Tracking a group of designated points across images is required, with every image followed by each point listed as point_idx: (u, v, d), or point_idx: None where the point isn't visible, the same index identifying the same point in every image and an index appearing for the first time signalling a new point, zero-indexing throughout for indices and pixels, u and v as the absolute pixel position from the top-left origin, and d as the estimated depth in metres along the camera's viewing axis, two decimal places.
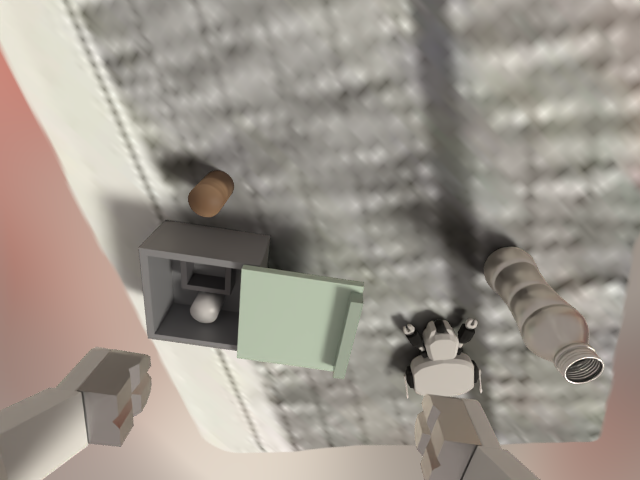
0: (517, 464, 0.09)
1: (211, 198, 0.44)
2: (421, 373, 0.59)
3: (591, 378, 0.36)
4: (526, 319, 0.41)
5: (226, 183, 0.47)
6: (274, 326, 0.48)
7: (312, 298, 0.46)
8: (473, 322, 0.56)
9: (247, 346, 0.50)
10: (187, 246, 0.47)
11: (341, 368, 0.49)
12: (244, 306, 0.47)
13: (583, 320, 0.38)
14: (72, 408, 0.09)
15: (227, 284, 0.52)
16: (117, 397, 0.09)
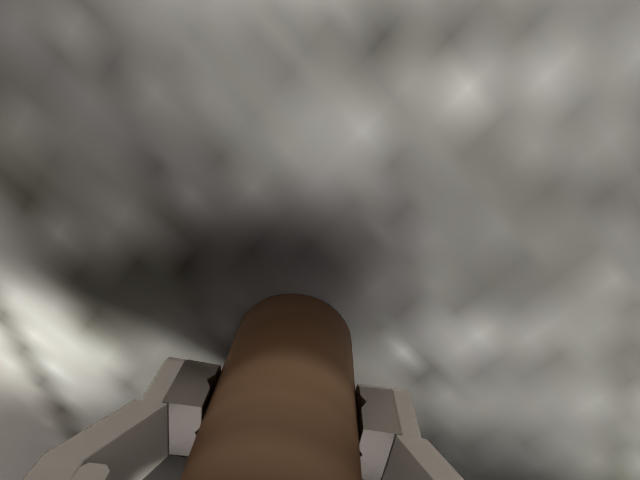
0: (433, 453, 0.09)
1: None
2: None
3: None
4: None
5: (346, 366, 0.10)
6: None
7: None
8: None
9: None
10: None
11: None
12: None
13: None
14: (159, 420, 0.09)
15: None
16: (201, 408, 0.09)
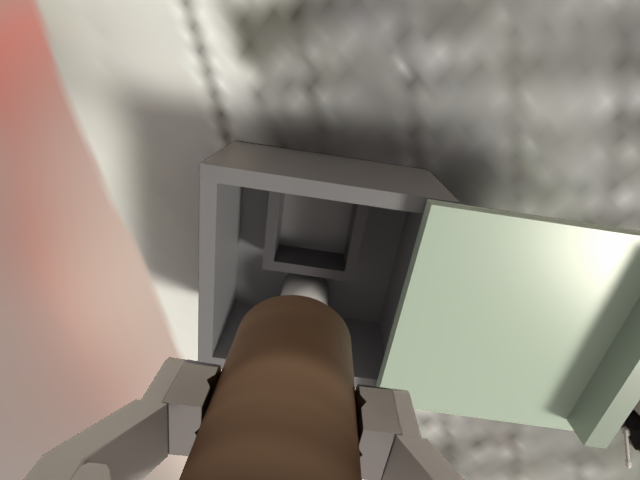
0: (433, 453, 0.09)
1: None
2: None
3: None
4: None
5: (346, 367, 0.10)
6: (469, 338, 0.23)
7: (571, 273, 0.21)
8: None
9: (402, 380, 0.25)
10: (296, 169, 0.23)
11: (610, 426, 0.23)
12: (416, 294, 0.22)
13: None
14: (159, 420, 0.09)
15: (351, 259, 0.27)
16: (201, 408, 0.09)
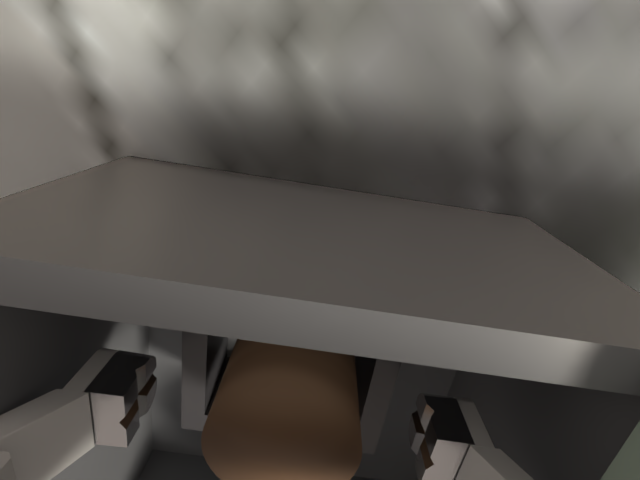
0: (510, 463, 0.09)
1: (316, 438, 0.09)
2: None
3: None
4: None
5: None
6: None
7: None
8: None
9: None
10: (230, 241, 0.08)
11: None
12: None
13: None
14: (79, 409, 0.09)
15: (372, 414, 0.13)
16: (124, 398, 0.09)
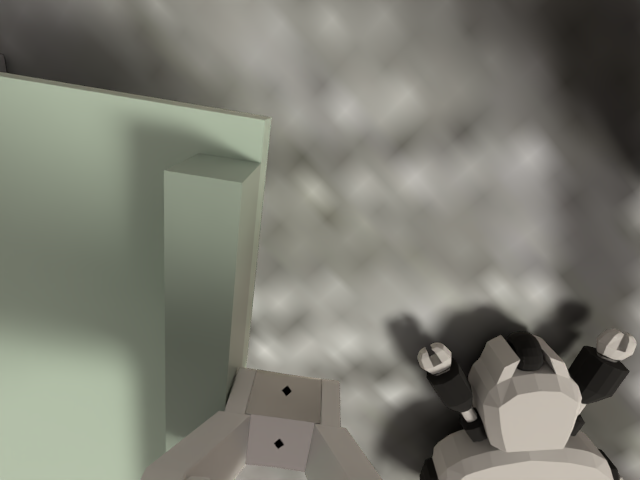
0: (348, 441, 0.08)
1: None
2: None
3: None
4: None
5: None
6: None
7: (22, 197, 0.09)
8: (622, 341, 0.19)
9: None
10: None
11: None
12: None
13: None
14: (242, 431, 0.09)
15: None
16: (283, 419, 0.09)
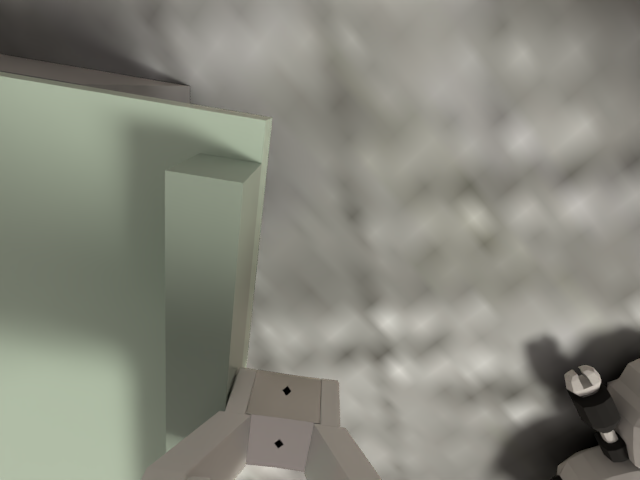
0: (347, 441, 0.08)
1: None
2: None
3: None
4: None
5: None
6: None
7: (22, 197, 0.09)
8: None
9: None
10: None
11: None
12: None
13: None
14: (243, 431, 0.09)
15: None
16: (283, 419, 0.09)
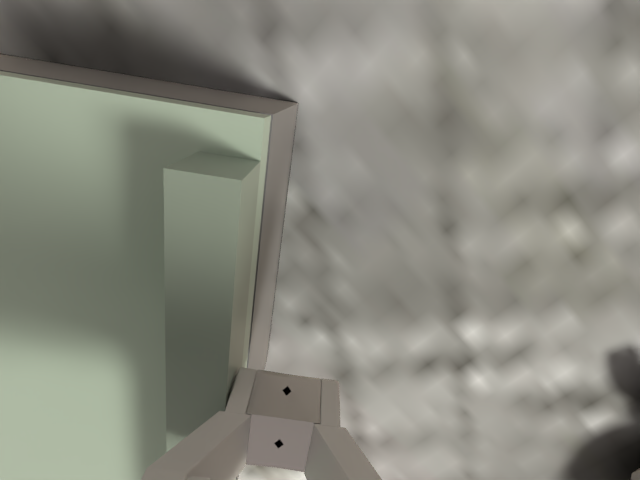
0: (347, 441, 0.08)
1: None
2: None
3: None
4: None
5: None
6: None
7: (22, 196, 0.09)
8: None
9: None
10: None
11: None
12: None
13: None
14: (243, 431, 0.09)
15: None
16: (283, 419, 0.09)
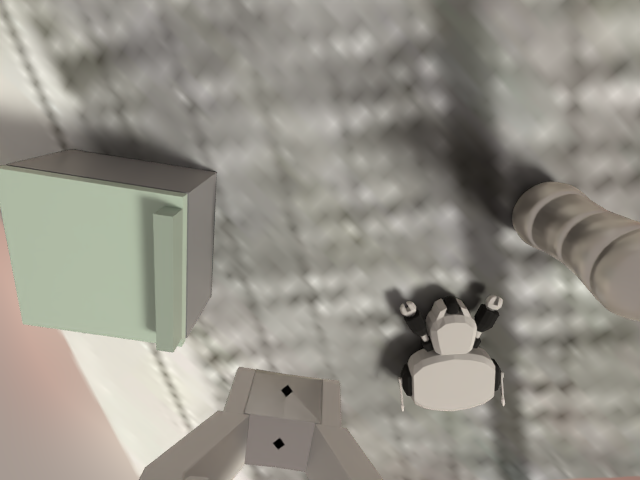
0: (349, 441, 0.08)
1: None
2: (423, 373, 0.42)
3: None
4: (598, 255, 0.26)
5: None
6: (65, 269, 0.32)
7: (110, 218, 0.30)
8: (497, 301, 0.41)
9: (33, 304, 0.34)
10: (85, 169, 0.32)
11: (165, 333, 0.32)
12: (12, 234, 0.31)
13: None
14: (241, 431, 0.09)
15: None
16: (282, 419, 0.09)
